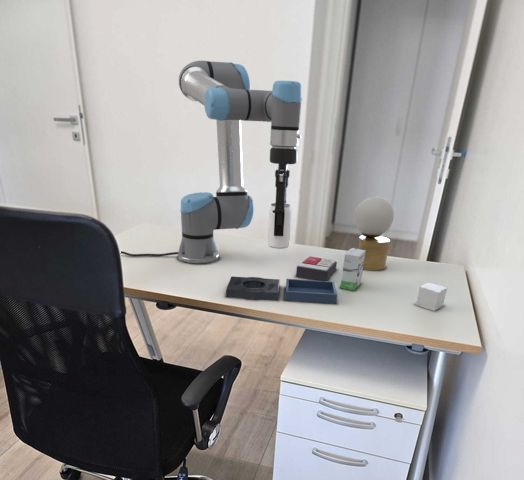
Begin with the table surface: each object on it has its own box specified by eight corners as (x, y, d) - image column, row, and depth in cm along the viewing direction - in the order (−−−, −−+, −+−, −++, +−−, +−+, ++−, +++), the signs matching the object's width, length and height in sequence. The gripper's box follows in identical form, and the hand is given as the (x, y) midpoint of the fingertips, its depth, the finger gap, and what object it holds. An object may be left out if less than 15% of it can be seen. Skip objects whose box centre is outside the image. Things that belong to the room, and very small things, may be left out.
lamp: (340, 260, 173) (349, 193, 161) (370, 257, 178) (381, 192, 166) (363, 272, 161) (374, 201, 149) (394, 268, 166) (407, 200, 154)
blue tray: (284, 300, 134) (285, 291, 133) (285, 287, 145) (286, 278, 143) (335, 303, 134) (337, 294, 132) (333, 290, 144) (334, 281, 142)
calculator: (337, 259, 161) (327, 269, 148) (336, 271, 163) (326, 281, 150) (308, 255, 164) (296, 264, 152) (307, 266, 166) (295, 276, 154)
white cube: (442, 305, 136) (447, 287, 133) (434, 311, 132) (438, 292, 129) (424, 300, 140) (428, 282, 137) (415, 304, 136) (419, 286, 133)
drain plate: (225, 297, 134) (225, 290, 133) (231, 282, 146) (231, 275, 145) (277, 301, 134) (278, 293, 133) (279, 285, 145) (279, 278, 144)
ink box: (353, 291, 144) (359, 256, 138) (339, 288, 146) (344, 253, 140) (361, 283, 151) (366, 249, 145) (347, 280, 152) (351, 247, 147)
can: (293, 246, 132) (296, 205, 126) (279, 250, 128) (281, 207, 122) (277, 242, 136) (279, 201, 130) (263, 245, 132) (264, 204, 126)
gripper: (297, 150, 110) (290, 242, 121) (298, 145, 127) (292, 226, 138) (267, 149, 111) (263, 240, 122) (272, 144, 128) (269, 224, 139)
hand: (279, 232), depth 130 cm, fingers closed on can, 6 cm apart
